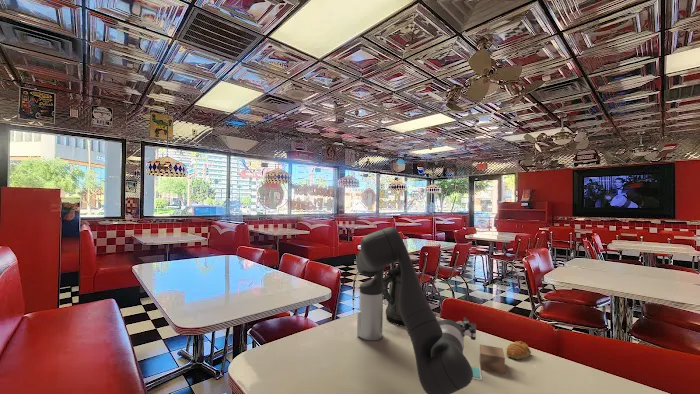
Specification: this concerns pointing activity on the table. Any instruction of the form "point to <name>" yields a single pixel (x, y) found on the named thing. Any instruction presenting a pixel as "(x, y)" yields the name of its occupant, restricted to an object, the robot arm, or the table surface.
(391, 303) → the beer stein
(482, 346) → the walnut block
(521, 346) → the pastry
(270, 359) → the table surface
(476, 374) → the tile
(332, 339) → the table surface
